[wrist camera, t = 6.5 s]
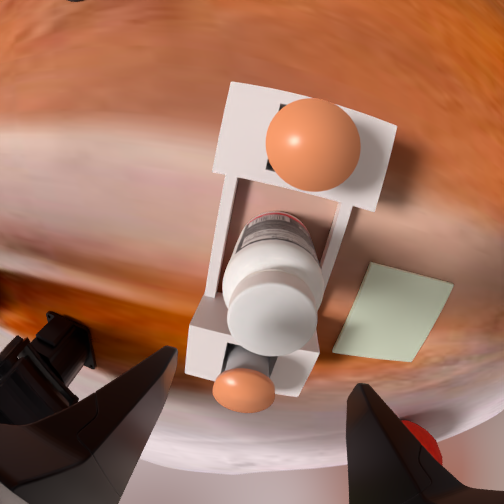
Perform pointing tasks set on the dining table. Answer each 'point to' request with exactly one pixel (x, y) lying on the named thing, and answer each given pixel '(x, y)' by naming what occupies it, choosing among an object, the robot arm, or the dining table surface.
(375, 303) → the mat
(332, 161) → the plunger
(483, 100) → the dining table surface
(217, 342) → the holder
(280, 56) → the dining table surface
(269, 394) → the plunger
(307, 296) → the pill bottle
